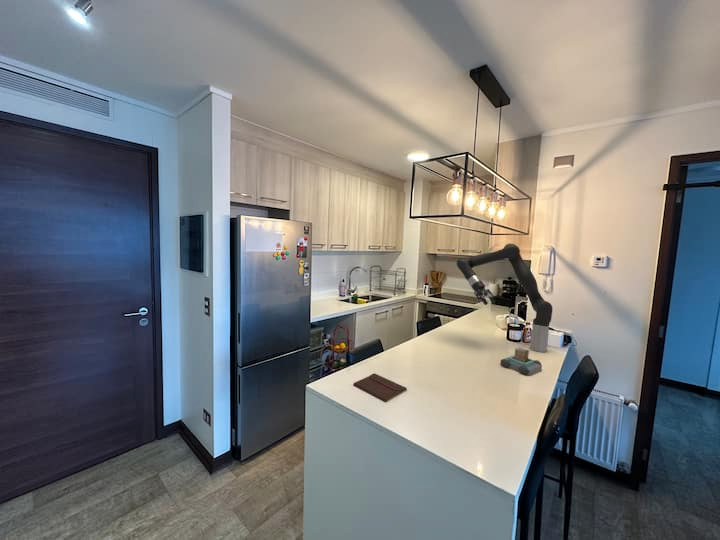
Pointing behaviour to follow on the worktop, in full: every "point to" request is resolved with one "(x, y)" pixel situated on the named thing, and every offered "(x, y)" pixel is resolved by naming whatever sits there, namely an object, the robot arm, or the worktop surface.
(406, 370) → the worktop surface
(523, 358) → the engine block
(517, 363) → the chassis
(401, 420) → the worktop surface
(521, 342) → the worktop surface
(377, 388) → the notebook
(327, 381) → the worktop surface
